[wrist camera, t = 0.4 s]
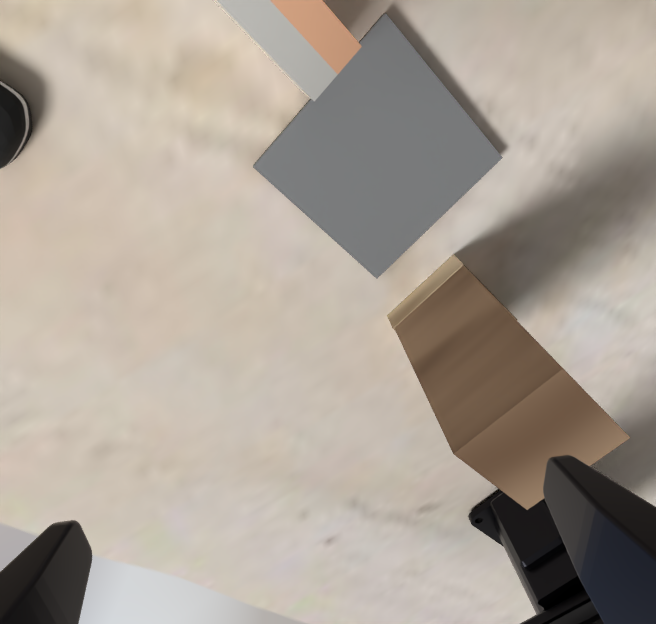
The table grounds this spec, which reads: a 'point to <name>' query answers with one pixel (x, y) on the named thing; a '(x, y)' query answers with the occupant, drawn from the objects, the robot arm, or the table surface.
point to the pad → (379, 151)
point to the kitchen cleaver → (13, 123)
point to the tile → (296, 38)
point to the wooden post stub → (496, 385)
